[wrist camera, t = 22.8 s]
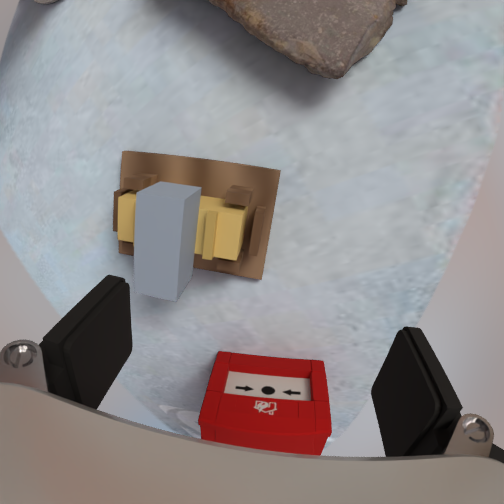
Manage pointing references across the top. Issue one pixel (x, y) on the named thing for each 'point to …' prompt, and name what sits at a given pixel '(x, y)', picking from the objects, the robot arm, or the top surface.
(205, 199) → the tan toy brick
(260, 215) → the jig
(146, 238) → the grey rectangular block
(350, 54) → the stone slab
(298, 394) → the fire alarm
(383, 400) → the robot arm
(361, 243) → the top surface
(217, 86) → the top surface
